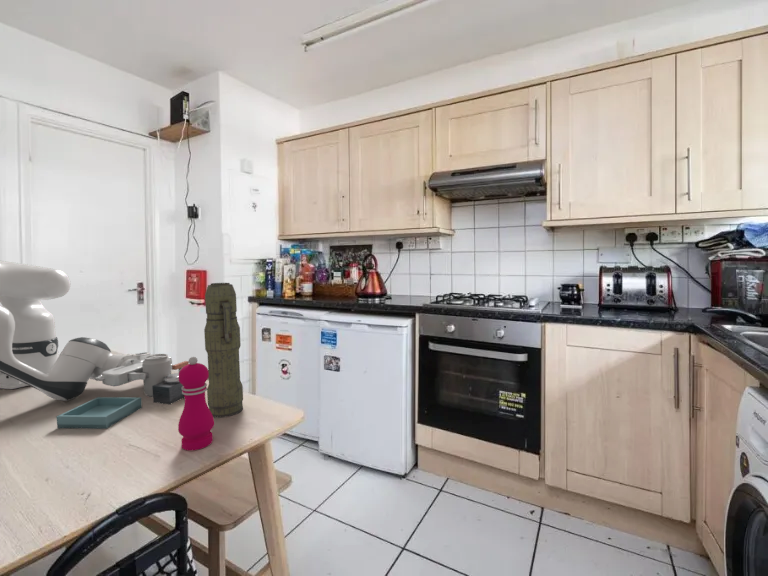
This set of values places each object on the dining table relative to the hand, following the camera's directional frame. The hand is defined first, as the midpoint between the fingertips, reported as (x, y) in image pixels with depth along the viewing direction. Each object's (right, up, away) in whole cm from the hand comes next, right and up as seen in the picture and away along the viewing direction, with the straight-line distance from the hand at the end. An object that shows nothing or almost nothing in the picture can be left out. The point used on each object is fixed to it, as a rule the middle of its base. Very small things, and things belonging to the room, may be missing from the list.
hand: (159, 371), depth 114 cm
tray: (-5, -8, -16) cm, 19 cm away
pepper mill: (+27, -10, -30) cm, 42 cm away
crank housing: (+6, -7, -1) cm, 10 cm away
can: (-1, -7, +1) cm, 7 cm away
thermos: (+26, -8, -12) cm, 30 cm away
